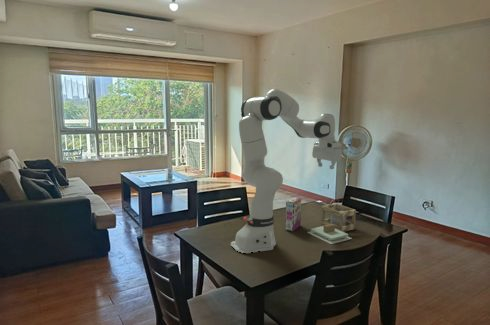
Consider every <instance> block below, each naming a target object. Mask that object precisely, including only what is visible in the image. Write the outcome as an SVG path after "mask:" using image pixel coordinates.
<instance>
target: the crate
mask: <svg viewBox="0 0 490 325" xmlns="http://www.w3.org/2000/svg"><path fill="white" fill-rule="evenodd" d="M339 211H344V212H339ZM326 213H327V214H329V215H331V214H332V215H335V216H337V217H339V226H337V225H335V229H337V230H340V231H342V232H344V233H346V232H348V231H351V230H352V231H353V230H355V229H356V214H357V210H356V209H354V208H351V207H349V206H345V205H342V204H339V203H332V204H326V205H321V224H320V225H322V226H324V225H328V224H333V223H330V221H331V217H328V218H326V217H325V216H326ZM343 217H346V218H347V217H352V218H351V222H350V221H349V220H346V226H342V218H343Z"/></svg>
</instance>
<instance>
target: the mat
mask: <svg viewBox="0 0 490 325" xmlns="http://www.w3.org/2000/svg"><path fill="white" fill-rule="evenodd" d="M307 234H310V235H311V236H313V237H315V238H317V239H318V240H322V241H324V243H325V242H326V243H327V244H329V245H333V244H337V243H342V242H345V241H349V240H352V237H350V236H349V235H348V236H347V237H343V238H339V239H335V240H329V239H327V238H325V237H323V236H321V235H319V234H317V233H315V232H313V231H311V230H310V231H307Z"/></svg>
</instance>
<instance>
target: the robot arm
mask: <svg viewBox="0 0 490 325" xmlns="http://www.w3.org/2000/svg"><path fill="white" fill-rule="evenodd" d="M299 111H300V105H299V103H298V101H297V100H296V99H294V98H293V97H292V96H291V95H289V94H288V93H286V92H284V91H283V90H280V89H278V88H272V89H271V90H270V89H269V91H267V93H266V95H265V96H260V95H259V96H254V97H253V96H252V97H248V98H246V99H245V100H244V101H243V102H242V103H241V107H240V112H241V114H240V117H241V118H240V120H239V121H238V130H239V137H240V138H239V139H240V143H241V146H242V152H243V157H244V167H243V169H242V171H241V177H242V180H243V181H244V182H245V183H247V185H249V186H251V187H255V193H254V196H253V197H252V198H251V199H250V200H249V201H250V202H249V208H250V209H249V212H250V214H249V217H247V216H243V219H242V220H243V221H244V222H247V223H246V224H245V225H244V226H243V227H242V228H241V229H239V230H238V231H237V232H236V234H235V239H234V240H233V241H231V242H230V247H231V246H232V247H233V248H234V249H235V250H234V249H233V248H232V247H231V248H232V249H233V250H234V251H235V252H237V251H238V253H239V252H241V253H240V254H243V253H246V254H252V253H251V252H253V253H259V252H258V251H260V252H267V251H273V250H274V247H275V246H276V244H277V242H276V238H275V232H274V224H275V222H274V221H275V219H274V214H273V213H274V199H275V195H276V193H277V192H278V191H279V190H280V189H281V187H282V186H283V184H284V183H283V182H284V178H283V177H284V176H283V174H281V172H279V170H276V169H275V168H273V167H269V166H266V164H265V157H266V156H267V155H268V147H267V143H266V139H265V134H264V130H263V126H262V125H263V122H264V121H272V120H275V119H277V118H278V117H279V118H281V119H282V121H283V122H285V124H287V125H288V126H290V127H291V129H292V130H293V131H294V133H295V134H296V135H297V137H298V138H302V139H306V138H308V139H318V141H316V142H314V143H313V148H312V154H311V156H312V158H314V159H316V162H317V165H318V167H323V163H322V160H324V161H327V162H329V161H330V164H331V165H329V169H330V170H334V169H335V165H336V164H337V163H340V162H341V161H342V156H343V151H342V146H343V144H342V143H341V142H339V141H338V140H336V136H335V132H336V118H335V116H334V115H333V114H330V113H321V114H320V116H319V117H317V118H316V119H314V120H313V119H311V120H310V119H300V117H298V114H299Z"/></svg>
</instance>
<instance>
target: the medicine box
mask: <svg viewBox="0 0 490 325" xmlns="http://www.w3.org/2000/svg"><path fill="white" fill-rule="evenodd" d="M338 211H339V212H344V211H341V210H338ZM330 218H331V221H330V223H333V224H335V225H337V226H339V217H337V216H335V215H332V214H330ZM346 221H347V217H343V218H342V226H346Z"/></svg>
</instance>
